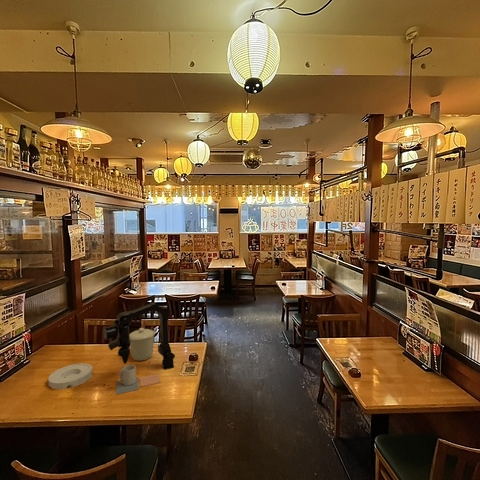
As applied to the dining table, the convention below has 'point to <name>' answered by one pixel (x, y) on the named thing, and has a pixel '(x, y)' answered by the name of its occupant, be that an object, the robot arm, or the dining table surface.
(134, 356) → the canister
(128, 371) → the cup
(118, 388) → the tile
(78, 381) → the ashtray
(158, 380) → the coaster pad
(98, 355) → the dining table surface
